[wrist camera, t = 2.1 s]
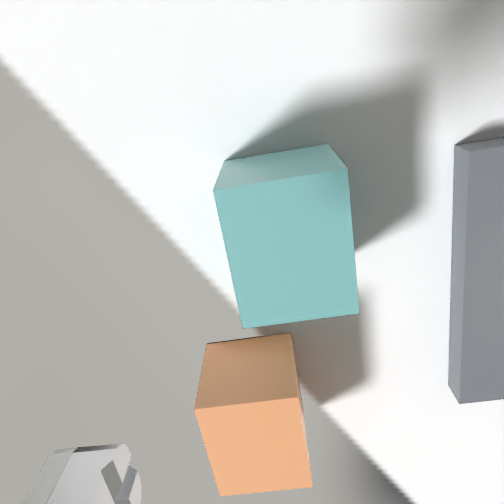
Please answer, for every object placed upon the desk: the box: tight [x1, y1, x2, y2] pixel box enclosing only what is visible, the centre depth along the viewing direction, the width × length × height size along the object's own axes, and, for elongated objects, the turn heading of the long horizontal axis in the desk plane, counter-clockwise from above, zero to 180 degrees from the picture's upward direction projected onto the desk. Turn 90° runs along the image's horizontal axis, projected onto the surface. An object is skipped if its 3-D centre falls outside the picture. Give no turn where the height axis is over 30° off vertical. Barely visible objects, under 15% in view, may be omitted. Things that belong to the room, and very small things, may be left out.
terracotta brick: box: [194, 333, 313, 496], centre depth 23 cm, size 6×5×5 cm
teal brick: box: [213, 144, 359, 329], centre depth 18 cm, size 6×5×5 cm
